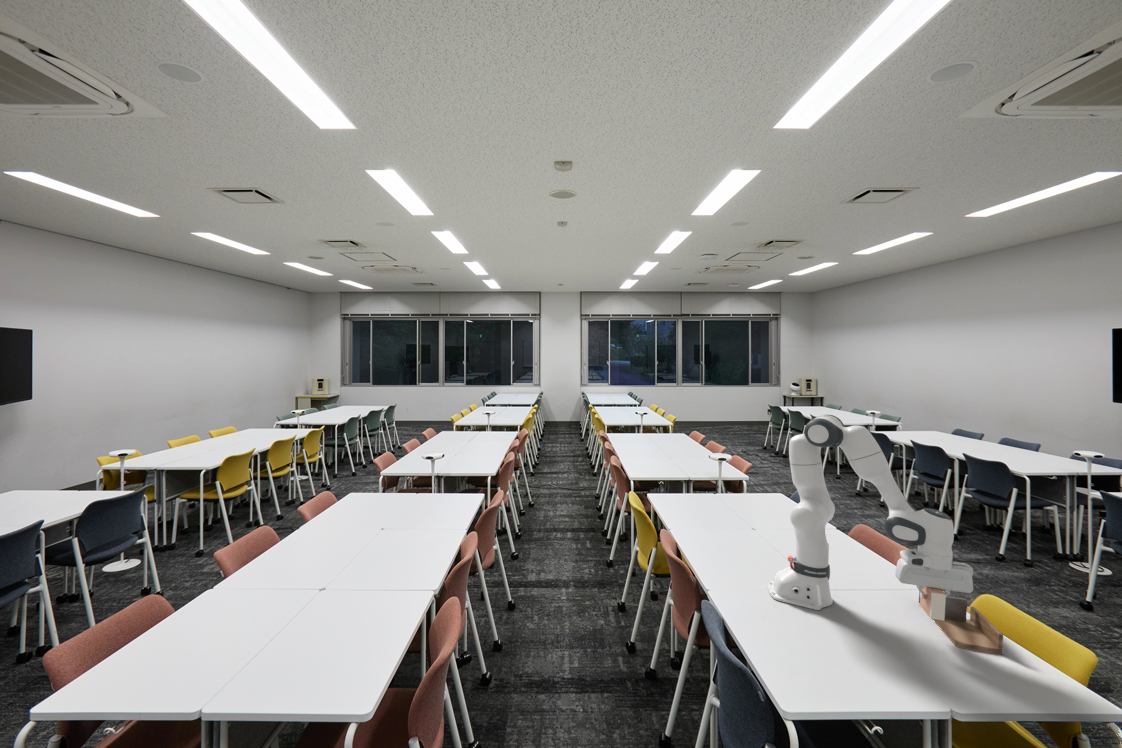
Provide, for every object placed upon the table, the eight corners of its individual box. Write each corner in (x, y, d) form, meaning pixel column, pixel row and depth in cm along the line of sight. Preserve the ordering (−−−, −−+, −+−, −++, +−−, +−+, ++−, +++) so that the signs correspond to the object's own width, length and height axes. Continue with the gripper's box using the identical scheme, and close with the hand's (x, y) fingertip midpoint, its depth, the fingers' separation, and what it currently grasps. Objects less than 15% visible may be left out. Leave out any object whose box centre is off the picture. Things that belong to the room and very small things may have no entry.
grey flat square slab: (938, 618, 155) (938, 596, 155) (936, 616, 156) (937, 594, 156) (966, 622, 153) (966, 600, 153) (964, 620, 154) (965, 598, 153)
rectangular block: (930, 618, 144) (932, 592, 143) (919, 605, 151) (920, 579, 151) (944, 621, 142) (945, 594, 142) (932, 607, 150) (933, 581, 150)
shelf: (955, 646, 143) (956, 627, 142) (931, 618, 158) (932, 600, 157) (1002, 654, 139) (1003, 634, 138) (973, 625, 154) (974, 606, 154)
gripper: (968, 559, 146) (965, 600, 146) (894, 550, 152) (892, 589, 153) (979, 568, 140) (976, 610, 140) (902, 558, 146) (900, 598, 147)
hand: (932, 599), depth 147 cm, fingers closed on rectangular block, 3 cm apart
